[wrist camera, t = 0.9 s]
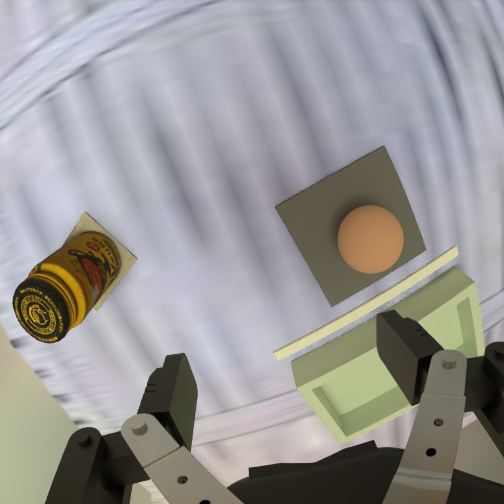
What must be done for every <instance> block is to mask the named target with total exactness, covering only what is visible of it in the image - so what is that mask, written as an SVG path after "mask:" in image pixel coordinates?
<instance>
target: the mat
mask: <svg viewBox="0 0 504 504" xmlns="http://www.w3.org/2000/svg"><path fill="white" fill-rule="evenodd" d="M366 205H375V206H380V207H382V208H385V209H386V210H388V211H390V212H391V213H392V214H393V215H394V216H395V217H396V218H397V220H398V221H399V223H400V225H401V227H402V230H403V236H404V244H403V249H402V252H401V254H400V256H399V258H398V259H397V261H396V262H395V263H394V264H393V265H392V266H391V267H390V268H388V269H387V270H385V271H382V272H379V273H373V274H368V273H362V272H359V271H357V270H355V269H353V268H352V267H351V266H349V265H348V264H347V263H346V262H345V260H344V259H343V257H342V255H341V253H340V251H339V247H338V241H337V240H338V231H339V227H340V225H341V223H342V221H343V220H344V218H345V217H346V216H347V215H348V214H349V213H350V212H351V211H353V210H354V209H356V208H358V207H361V206H366ZM275 208H276V210H277V212H278V213H279V215H280V217H281V218H282V220H283V222H284V224H285V225H286V227H287V229H288V230H289V232H290V234H291V236H292V237H293V239H294V241H295V243H296V244H297V246H298V248H299V250H300V251H301V253H302V255H303V257H304V258H305V260H306V262H307V264H308V265H309V267H310V269H311V271H312V272H313V274H314V276H315V278H316V280H317V281H318V283H319V285H320V287H321V289H322V290H323V292H324V294H325V296H326V298H327V300H328V301H329V303H330V305H331V307H333V306H335V305H336V304H338V303H340V302H342V301H343V300H345V299H347V298H349V297H350V296H352V295H354V294H356V293H357V292H359V291H361V290H363V289H364V288H366V287H368V286H369V285H371V284H373V283H374V282H376V281H378V280H379V279H381V278H383V277H384V276H386V275H388V274H389V273H391V272H392V271H394V270H396V269H397V268H399V267H401V266H402V265H404V264H405V263H407V262H408V261H410V260H412V259H413V258H415V257H416V256H418V255H419V254H421V253H423V252H424V251H426V248H425V245H424V242H423V239H422V236H421V233H420V230H419V227H418V225H417V222H416V219H415V217H414V214H413V211H412V209H411V206H410V204H409V201H408V199H407V196H406V194H405V191H404V189H403V186H402V184H401V182H400V179H399V177H398V175H397V172H396V170H395V168H394V165H393V163H392V161H391V159H390V157H389V154H388V152H387V150H386V148H385V146H382V147H380V148H378V149H377V150H375V151H373V152H371V153H369V154H368V155H366V156H364V157H362V158H360V159H358V160H357V161H355V162H353V163H351V164H349V165H348V166H346V167H344V168H342V169H340V170H339V171H337V172H335V173H333V174H332V175H330V176H328V177H326V178H324V179H323V180H321V181H319V182H317V183H316V184H314V185H312V186H310V187H309V188H307V189H305V190H303V191H302V192H300V193H298V194H296V195H295V196H293V197H291V198H289V199H288V200H286V201H284V202H282V203H281V204H279V205H277V206H275Z"/></svg>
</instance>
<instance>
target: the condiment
mask: <svg viewBox="0 0 504 504" xmlns="http://www.w3.org/2000/svg"><path fill="white" fill-rule="evenodd" d="M136 260H137V258H136V257H135V256H133V255H132V254H131V253H130V252H129V251H128V250H127V249H125V248H124V247H123V246H122V245H121V244H120V243H119V242H118V241H117V240H116V239H115V238H114V237H112V236H111V235H110V234H109V233H108V232H107V231H106V230H104V229H103V228H102V227H101V226H100V225H99V224H98V223H97V222H95V221H94V220H93V219H92V218H91V217H90V216H89V215H88V214H87V213H86V212H84V213H83V215H82V216H81V218H80V219H79V221H78V222H77V224H76V226H75V227H74V229H73V230H72V232H71V233H70V235H69V237H68V238H67V240H66V241H65V243H64V244H63V246H62V247H61V248H60V249H58V250H57V251H55V252H54V253H53V254H51V255H50V256H48V257H47V258H46V259H44V260H43V261H42V262H40V263H38V264H37V265H36V266H35V267H34V268H33V269H32V271H31V272H30V273H29V275H28V278H26V279H25V281H23V282H22V283H21V284H20V285H19V286H18V287H17V288H16V290H15V293H14V296H13V303H12V304H13V309H14V311H15V314H16V317H17V319H18V321H19V323H20V324H21V326H22V327H23V328H24V329H25V331H26V332H27V333H29V334H30V335H31V336H32V337H34V338H35V339H37V340H38V341H41V342H44V343H55V342H59V341H60V340H61V339H63V338H64V337H65V336H66V334H67V332H69V331H70V330H71V329H72V328H74V327H76V326H78V325H79V324H80V323H82V321H83V320H84V319H85V317H86V315H87V314H88V313H89V312H90V310H91V309H92V308H94V309H95V310H96V311H97V310H98V309H99V308H100V306H101V305H102V304H103V303H104V301H105V300H106V299H107V297H108V296H109V295H110V293H111V292H112V291H113V289H114V288H115V287H116V286H117V284H118V283H119V282H120V280H121V279H122V278H123V277H124V275H125V274H126V273H127V272H128V270H129V269H130V268H131V267H132V265H133V264H134V263H135V262H136Z"/></svg>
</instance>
